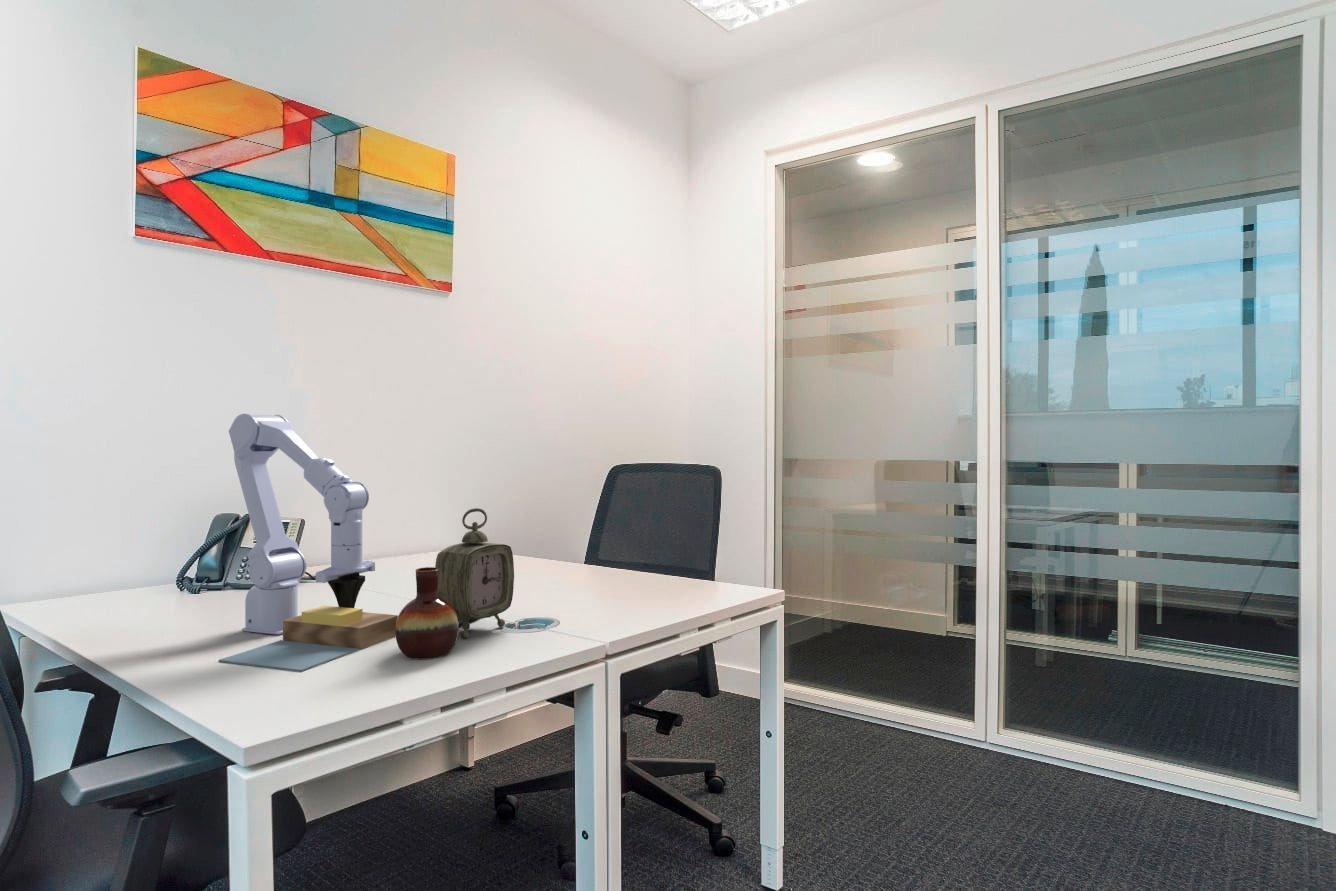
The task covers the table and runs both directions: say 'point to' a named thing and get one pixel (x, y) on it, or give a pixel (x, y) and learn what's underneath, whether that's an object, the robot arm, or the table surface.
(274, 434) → the robot arm
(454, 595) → the tabletop clock
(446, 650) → the vase
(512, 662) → the table surface
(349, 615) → the flat yellow block
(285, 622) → the brown wooden block
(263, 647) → the mat
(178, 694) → the table surface
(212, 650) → the table surface
